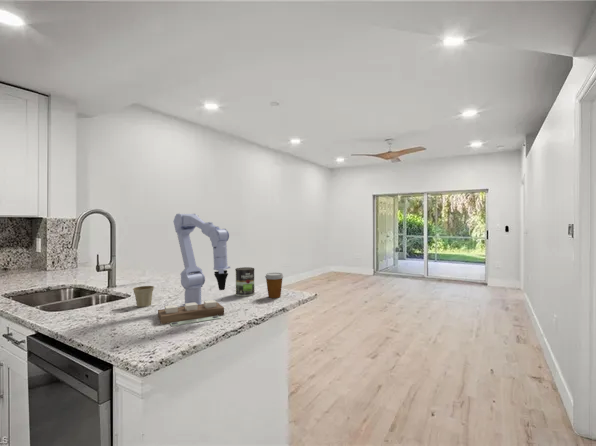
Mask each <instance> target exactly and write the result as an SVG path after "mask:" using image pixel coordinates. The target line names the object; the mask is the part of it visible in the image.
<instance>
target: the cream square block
mask: <svg viewBox="0 0 596 446" xmlns="http://www.w3.org/2000/svg"><path fill="white" fill-rule="evenodd" d="M164 309H165V314H169V313H176V312H178V306H177V305H176V304H172V305H165V306H164Z"/></svg>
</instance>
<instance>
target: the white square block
mask: <svg viewBox="0 0 596 446" xmlns="http://www.w3.org/2000/svg"><path fill="white" fill-rule="evenodd" d="M217 303H218V302H217V301H216V300H215V299H211V300H210V299H209V300H205V301H203V304H204V307H205V308H212V307H217Z"/></svg>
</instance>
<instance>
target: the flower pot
mask: <svg viewBox="0 0 596 446" xmlns="http://www.w3.org/2000/svg"><path fill="white" fill-rule="evenodd" d="M154 289H155V286H154V285H143V286H136V287H133V288H132V290H133V293H134V296H135V302H136V307H138V308H146V307H149V306H151V305H152V300H153V294H154V293H153V292H154Z"/></svg>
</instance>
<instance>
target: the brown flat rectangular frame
mask: <svg viewBox="0 0 596 446" xmlns="http://www.w3.org/2000/svg"><path fill="white" fill-rule="evenodd" d="M177 307H178V306H177ZM224 315H225V307H224V306H223V305H222V304H220V303H219V302H217V307H212V308H205V307H204V303H201V304H200V305H198V309H197V310H190V311H186V310H185V307H184V306H179V307H178V312H176V313H169V314H165V308H163V309H158V310H157V318H158V320H159V322H160V324H161V325H164V324H170V323H172V322H179V321H185V320H192V319H198V318H205V317H211V316H224Z"/></svg>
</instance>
